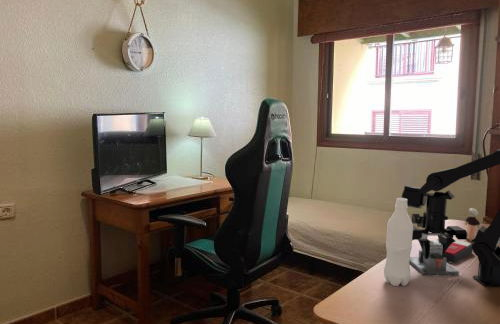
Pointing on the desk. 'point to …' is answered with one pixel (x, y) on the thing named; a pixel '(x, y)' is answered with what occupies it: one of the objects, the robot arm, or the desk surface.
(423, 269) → the stand base
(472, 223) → the grandmother figurine
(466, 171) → the robot arm
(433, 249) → the column
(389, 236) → the water bottle
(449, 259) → the button control pad
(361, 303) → the desk surface
